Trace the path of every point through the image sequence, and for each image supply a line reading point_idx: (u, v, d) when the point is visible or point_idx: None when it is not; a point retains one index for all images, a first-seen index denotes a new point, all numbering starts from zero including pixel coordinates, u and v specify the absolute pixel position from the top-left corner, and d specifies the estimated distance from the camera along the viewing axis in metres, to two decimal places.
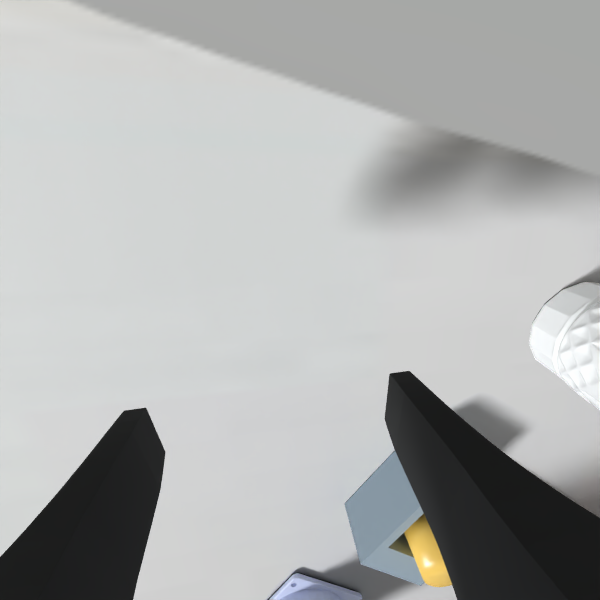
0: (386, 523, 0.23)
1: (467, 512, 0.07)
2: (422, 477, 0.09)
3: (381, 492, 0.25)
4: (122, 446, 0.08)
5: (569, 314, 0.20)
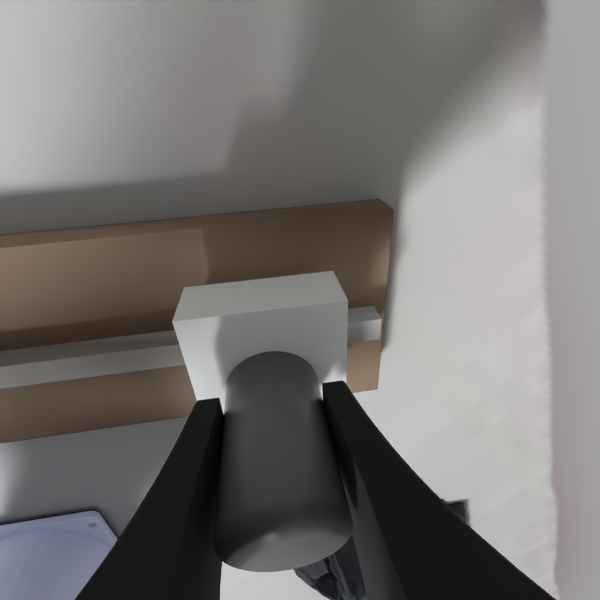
0: None
1: (369, 530, 0.06)
2: (345, 489, 0.08)
3: None
4: (209, 433, 0.08)
5: None
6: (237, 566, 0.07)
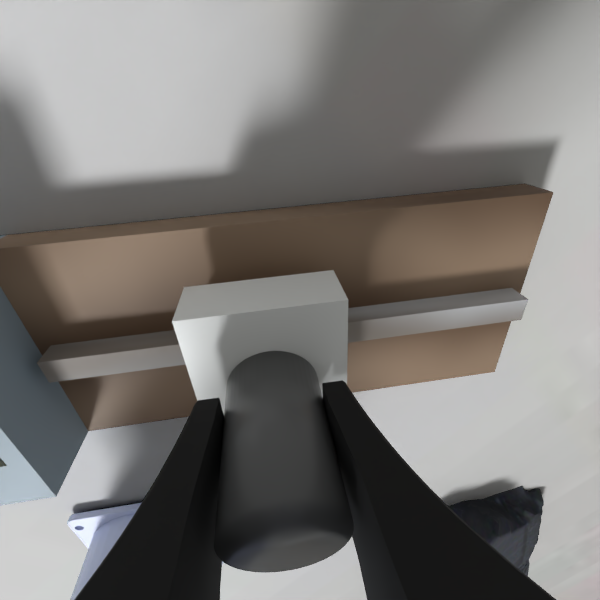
0: None
1: (369, 530, 0.06)
2: None
3: None
4: (209, 433, 0.08)
5: None
6: (238, 567, 0.07)
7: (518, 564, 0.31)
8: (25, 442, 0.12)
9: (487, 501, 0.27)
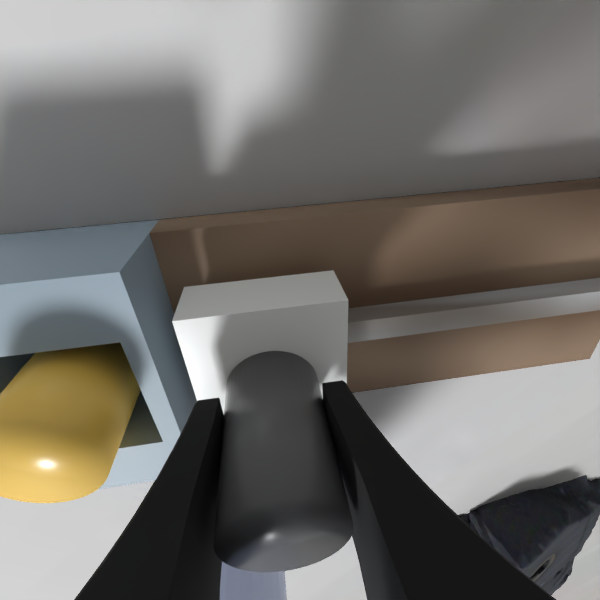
0: None
1: (369, 530, 0.06)
2: (345, 489, 0.08)
3: None
4: (209, 433, 0.08)
5: None
6: (237, 566, 0.07)
7: (573, 554, 0.31)
8: (180, 419, 0.12)
9: (551, 491, 0.27)
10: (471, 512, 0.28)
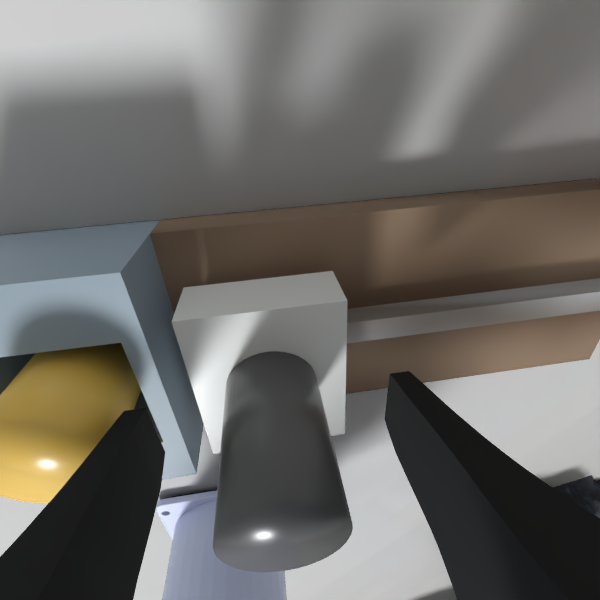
0: None
1: (467, 512, 0.07)
2: (422, 476, 0.09)
3: None
4: (122, 446, 0.08)
5: None
6: (236, 566, 0.07)
7: None
8: (180, 419, 0.12)
9: None
10: None
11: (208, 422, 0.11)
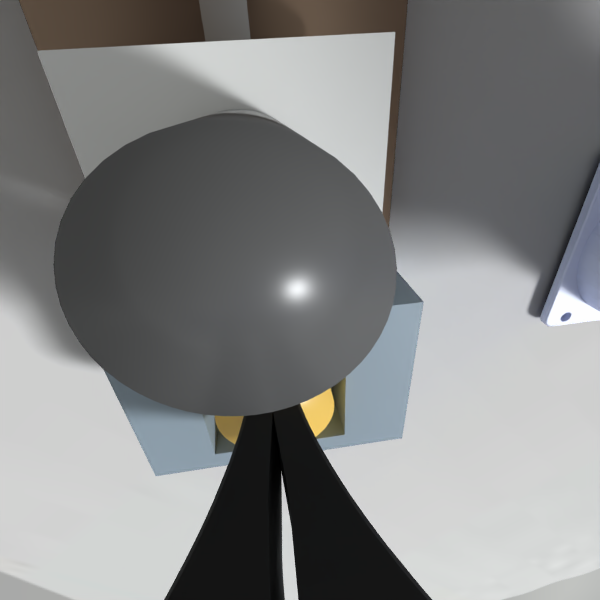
0: None
1: None
2: (287, 500, 0.08)
3: None
4: (271, 424, 0.08)
5: None
6: (331, 382, 0.04)
7: None
8: None
9: None
10: None
11: None
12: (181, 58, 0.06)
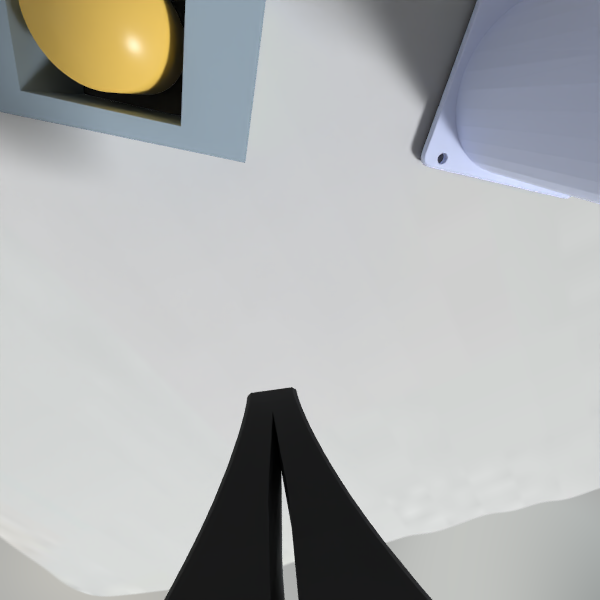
0: None
1: None
2: (287, 500, 0.08)
3: None
4: (270, 424, 0.08)
5: None
6: None
7: None
8: None
9: None
10: None
11: None
12: None
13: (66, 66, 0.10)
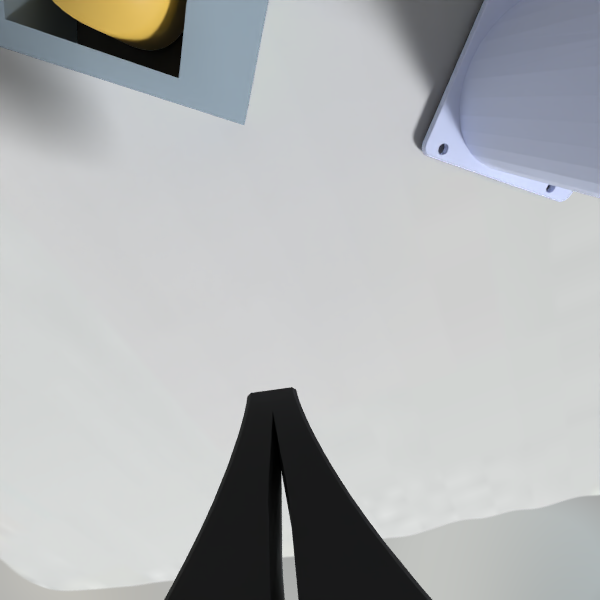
0: None
1: None
2: (287, 499, 0.08)
3: None
4: (270, 424, 0.08)
5: None
6: None
7: None
8: None
9: None
10: None
11: None
12: None
13: None
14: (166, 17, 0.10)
